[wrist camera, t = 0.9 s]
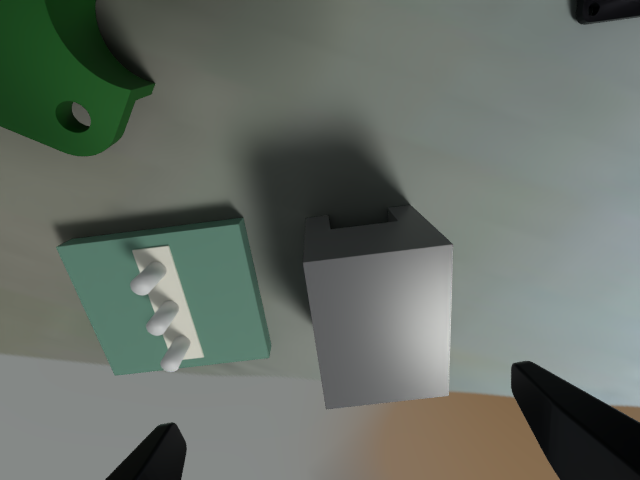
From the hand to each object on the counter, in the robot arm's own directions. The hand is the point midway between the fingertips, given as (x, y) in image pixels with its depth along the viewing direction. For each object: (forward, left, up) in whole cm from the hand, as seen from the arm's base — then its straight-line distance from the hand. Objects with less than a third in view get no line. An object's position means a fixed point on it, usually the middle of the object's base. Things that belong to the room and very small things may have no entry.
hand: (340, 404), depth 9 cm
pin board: (+9, +2, -11) cm, 15 cm away
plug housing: (-2, +2, -11) cm, 12 cm away
